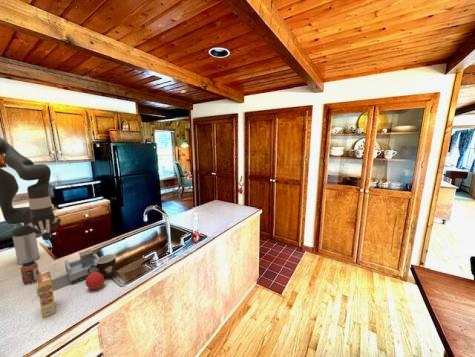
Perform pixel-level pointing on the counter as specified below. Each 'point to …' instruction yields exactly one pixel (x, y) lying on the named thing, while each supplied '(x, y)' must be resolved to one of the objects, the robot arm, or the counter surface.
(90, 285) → the tomato
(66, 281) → the runner mat
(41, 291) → the candy box
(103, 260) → the coffee mug
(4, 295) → the counter surface
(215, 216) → the counter surface
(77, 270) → the grey shallow tray
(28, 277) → the supplement bottle
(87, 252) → the steel block
